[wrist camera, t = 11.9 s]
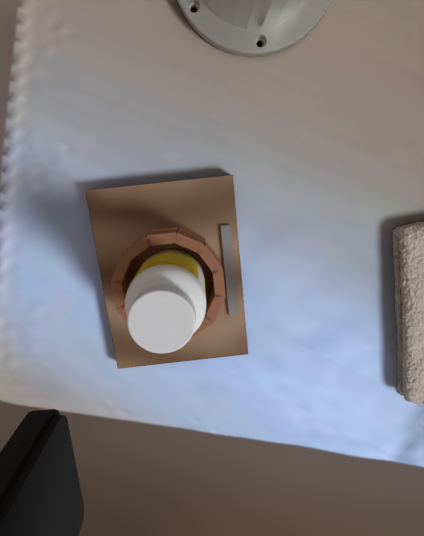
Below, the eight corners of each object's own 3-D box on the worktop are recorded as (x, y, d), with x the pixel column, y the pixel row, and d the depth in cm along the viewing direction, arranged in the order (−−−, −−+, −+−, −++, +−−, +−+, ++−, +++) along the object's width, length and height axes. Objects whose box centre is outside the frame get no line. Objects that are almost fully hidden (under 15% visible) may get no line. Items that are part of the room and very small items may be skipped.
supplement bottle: (128, 262, 30) (97, 299, 20) (188, 235, 30) (185, 261, 20) (156, 318, 31) (140, 378, 22) (214, 293, 31) (223, 343, 21)
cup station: (89, 190, 31) (70, 191, 26) (231, 175, 31) (237, 174, 26) (120, 362, 34) (108, 390, 30) (246, 348, 34) (253, 373, 30)
